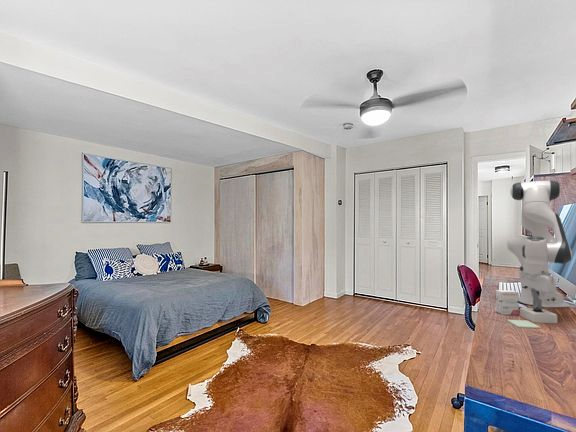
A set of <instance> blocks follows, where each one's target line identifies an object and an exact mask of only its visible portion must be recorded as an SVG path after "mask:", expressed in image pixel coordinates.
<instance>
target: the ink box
mask: <svg viewBox="0 0 576 432" xmlns="http://www.w3.org/2000/svg"><path fill="white" fill-rule="evenodd" d="M519 303H520V301H519V291H516V290H509V289H508V290H507V289H505V290H504V289H496V290H495V305H496V306H495V311H496V313H498V314H500V315H508V316H511V315H512V316H514V315H515V316H519V315H520V308H519V306H520V305H519Z"/></svg>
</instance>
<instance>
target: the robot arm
mask: <svg viewBox="0 0 576 432" xmlns="http://www.w3.org/2000/svg"><path fill="white" fill-rule="evenodd" d="M509 193H510V196H511V197H512V199H513V200H516V201H522V204H521V205H522V206H521V219H520V220H521V221H520V222H521V223H520V225H521V226H522V228H523V229H524V230H527V231H529V232H531V234H532V236H525V235H524V236H521V235H520V236H513V237H510V238H509V239H508V240H507V243H506V246H507V250H509V252H510V253H512V254H513V255H514V256H515V257H516V258H517V259H518V261H519V264H520V266H518V271H519V284H520V286H521V290H520V292H521V293H520V295H519V296H520V297H519V298H518V300H519V303H522V304H526V305H530V306H531V305H532V306H533V290H537V291H539V292H540V293H539V295H538V299H540V300H542V308H570V307H571V305H570V304H569V303H566V302H565V299H564V296H563V294H562V293H560V292H559V291H557V284H556V279H555V278H554V276H553V275H552V273H551V272H550V270H549V263H553V264H554V263H555V264H561V265H564V264H566V263H569V262H570V261H572V257H573V252H572V249H571V247H570V245H569V243H568V238H567V235H566V231H565V230H564V228H565V227H564V226H563V223H562V220H561V218H560V215H559V214H558V213H556V212H554V211H553V210H552V208H551V201H554V200H556V199H558V198H559V196H560V195H561V193H562V187H561V185H560V182H558V181H557V180H533V181H524V182H521V181H520V182H516V183H514V184H512V186H511V188H510V191H509ZM547 226H548V227H550V228H551V229H552V231H553V234H554V236H553V235H552V234H551V233H550V230H549V229H548V227H547Z"/></svg>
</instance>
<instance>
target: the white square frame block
mask: <svg viewBox="0 0 576 432" xmlns="http://www.w3.org/2000/svg"><path fill="white" fill-rule="evenodd" d="M519 315H520V317H521V318H524V319H525V320H527V321H529V322H531V323H541V324H543V323H544V324H558V314H556V313H554V312H551V311H549V310H546V309H544V308H542V312H535V311H533V308H532V307H531V308H530V307H520V308H519Z"/></svg>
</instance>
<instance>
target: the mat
mask: <svg viewBox="0 0 576 432" xmlns="http://www.w3.org/2000/svg"><path fill="white" fill-rule="evenodd" d="M506 322H508V323H509V324H512V326H515V327H516V328H520V329H539V330H540V329H542V328H541V326H539V325H538V324H536V323H534V322H532V321H530V320H527V319H525V320H524V319H522V320H521V319H520V320H519V319H506Z"/></svg>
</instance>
